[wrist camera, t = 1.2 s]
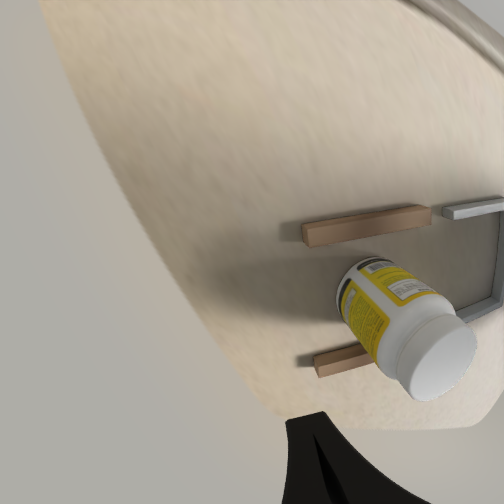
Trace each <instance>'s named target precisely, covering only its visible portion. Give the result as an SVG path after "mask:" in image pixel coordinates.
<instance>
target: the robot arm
mask: <svg viewBox="0 0 504 504" xmlns="http://www.w3.org/2000/svg"><path fill="white" fill-rule="evenodd" d="M285 424H286V431H287V437H288V464H287V465H288V466H287V475H286V482H285V489H284V495H283V499H282V504H431V503H429V502H427V501H425V500H423V499H421V498H419V497H417V496H415V495H414V494H411V493H410V492H408V491H407V490H405V489H403V488H402V487H400V486H399V485H397V484H396V483H395V482H393V481H392V480H390V479H389V478H388V477H386V476H385V475H384V474H383V473H381V472H380V471H379V470H378V469H376V468H375V467H374V466H373V465H372V464H371V463H370V462H368V461H367V460H366V459H365V458H364V457H363V456H362V455H361V454H360V453H359V452H358V451H357V450H356V449H355V448H354V447H353V446H352V445H351V444H350V443H349V442H348V441H347V439H345V437H344V436H343V435H342V434H341V433H340V431H339V430H338V429H337V428H336V426H335V425H334V424H333V422H332V421H331V420H330V418H329V417H328V415H327V414H326V413H325V412H323V411H322V412H318V413H314V414H310V415H306V416H302V417H297V418H293V419H288V420H287V421H286V422H285Z"/></svg>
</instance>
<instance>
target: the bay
mask: <svg viewBox="0 0 504 504" xmlns="http://www.w3.org/2000/svg"><path fill="white" fill-rule="evenodd" d="M498 211H500V229H499V242H498V252H497V261H496V269H495V276H494V282H493V288H492V294H491V297H489V298H486V299H484V300H482V301H480V302H477V303H475V304H473V305H470V306H468V307H465V308H463V309H460V310H458V311H455V313H456V316H457V317H459V318H460V319H461V320H462V321H463V322H464V323H465V324H466V323H468V322H470V321H472V320H474V319H477V318H479V317H481V316H483V315H485V314H487V313H489V312H491V311H493V310H495V309H497V308H499V307H501V306H502V304H503V300H504V198H499V199H493V200H487V201H480V202H474V203H468V204H461V205H455V206H449V207H443V217H446V218H449V219H452V220H458V219H463V218H468V217H473V216H478V215H483V214H488V213H493V212H498Z"/></svg>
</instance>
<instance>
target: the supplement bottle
mask: <svg viewBox="0 0 504 504" xmlns="http://www.w3.org/2000/svg"><path fill="white" fill-rule="evenodd" d="M336 304H337V309H338V311H339V314H340V315H341V317H342V318H343V320H344V321H345V323H346V324H347V325H348V326H349V328H350V329H351V331H352V332H353V333H354V335H355V336H356V337H357V339H358V340H359V341H360V343H361V344H362V345H363V347H364V348H365V350H366V351H367V352H368V354H369V355H370V356H371V358H372V359H373V361H374V362H375V363H376V365H377V366H378V368H379V369H380V370H381V371H382V372H383V373H384V374H385V375H386V376H387V377H389V378H391V379H394V380H398V381H399V382H400V384H401V385H402V386H403V388H404V389H405V390H406V391H407V393H408V394H409V395H410V396H411V397H412V398H413V399H414V400H417V401H429V400H432V399H435V398H437V397H440V396H441V395H443V394H444V393H446V392H447V391H449V390H450V389H451V388H452V387H453V386H454V385H456V384H457V383H458V381H459V380H460V379H461V378H462V377H463V376H464V374H465V373H466V371H467V370H468V368H469V367H470V365H471V363H472V361H473V359H474V356H475V353H476V349H477V337H476V334H475V332H474V331H473V330H472V329H471V328H470V327H469V326H468V325H467V324H465V323H464V322H463V321H462V320H461V319H460V318H459V317H457V316H456V313H455V310H454V308H453V306H452V304H451V303H450V302H449V301H448V300H447V299H446V298H445V297H443V296H442V295H440V294H439V293H438V292H436V291H435V290H433V289H432V288H430V287H429V286H427V285H426V284H425V283H423V282H422V281H420V280H419V279H417V278H416V277H414V276H413V275H411V274H410V273H408V272H407V271H405V270H404V269H402V268H401V267H399V266H398V265H396V264H394V263H393V262H392V261H390V260H388V259H385V258H381V257H372V258H367V259H364V260H362V261H360V262H358V263H357V264H355V265H354V266H353V267H352V268H351V269H350V270H349V271H348V272H347V273H346V275H345V276H344V277H343V279H342V281H341V282H340V285H339V287H338V290H337V295H336Z"/></svg>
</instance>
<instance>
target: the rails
mask: <svg viewBox="0 0 504 504" xmlns="http://www.w3.org/2000/svg"><path fill="white" fill-rule="evenodd" d="M427 225H431V208H428V207H425V206H422V205H417V206H410V207H404V208H398V209H391V210H385V211H379V212H372V213H366V214H360V215H354V216H348V217H342V218H336V219H330V220H324V221H318V222H312V223H306V224H301V226H302V234H303V242H304V243H305V244H306V245H307V246H308V247H309V248H312V247H317V246H323V245H328V244H333V243H339V242H344V241H349V240H354V239H360V238H365V237H370V236H375V235H381V234H386V233H391V232H396V231H401V230H406V229H412V228H417V227H422V226H427ZM313 357H314V368H315V370H316V373H317V375H318V377H319V378H321V377H325V376H329V375H333V374H336V373H340V372H343V371H347V370H350V369H354V368H357V367H361V366H364V365H367V364H370V363H373V362H374V361H373V359H372V358H371V356H370V355H369V354H368V352H367V351H366V350H365V348H364V347H363V345H362V344H358V345H355V346H351V347H348V348H344V349H340V350H336V351H333V352H329V353H325V354H321V355H317V356H313Z"/></svg>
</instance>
